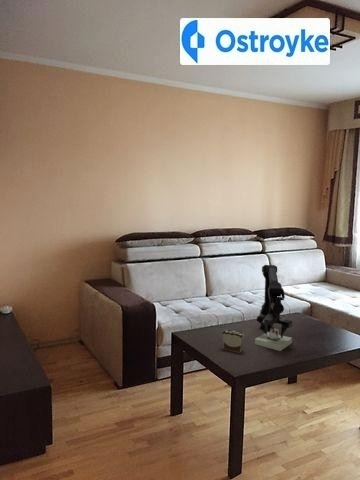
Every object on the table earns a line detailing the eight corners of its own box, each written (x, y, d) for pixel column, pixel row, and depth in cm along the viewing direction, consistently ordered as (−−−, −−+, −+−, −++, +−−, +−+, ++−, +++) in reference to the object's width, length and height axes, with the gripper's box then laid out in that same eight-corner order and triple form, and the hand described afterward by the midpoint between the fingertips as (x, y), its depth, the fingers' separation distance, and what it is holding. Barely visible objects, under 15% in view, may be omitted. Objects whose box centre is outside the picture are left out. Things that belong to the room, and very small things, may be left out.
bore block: (254, 344, 217) (254, 338, 217) (267, 336, 229) (267, 331, 228) (280, 351, 208) (280, 345, 207) (291, 343, 219) (292, 337, 219)
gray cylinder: (267, 343, 218) (267, 329, 217) (271, 341, 222) (271, 327, 221) (275, 346, 215) (276, 331, 214) (279, 343, 218) (280, 329, 218)
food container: (247, 349, 209) (247, 331, 208) (242, 353, 204) (243, 334, 203) (225, 344, 215) (226, 327, 214) (221, 348, 210) (221, 330, 209)
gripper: (252, 308, 215) (251, 336, 217) (284, 315, 204) (283, 344, 206) (261, 304, 224) (260, 331, 226) (293, 310, 213) (292, 338, 214)
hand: (273, 336), depth 218 cm, fingers open, 9 cm apart
